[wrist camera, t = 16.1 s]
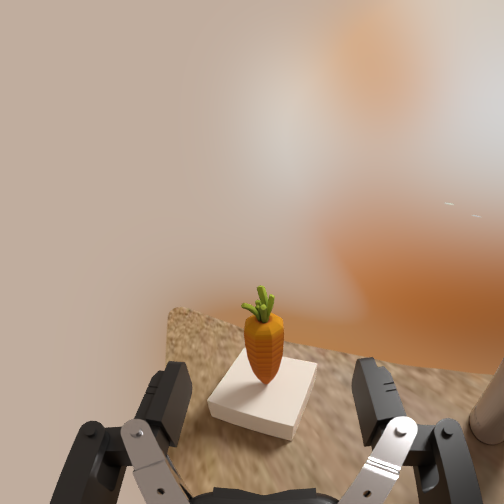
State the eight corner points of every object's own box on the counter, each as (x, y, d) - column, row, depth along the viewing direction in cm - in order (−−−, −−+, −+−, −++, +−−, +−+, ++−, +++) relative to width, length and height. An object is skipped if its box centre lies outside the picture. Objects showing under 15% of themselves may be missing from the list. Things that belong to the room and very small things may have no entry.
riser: (315, 380, 41) (317, 363, 39) (291, 440, 31) (293, 426, 29) (245, 364, 45) (244, 347, 44) (211, 416, 35) (206, 400, 34)
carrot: (276, 400, 33) (275, 307, 28) (242, 390, 35) (231, 298, 30) (289, 375, 37) (291, 284, 32) (257, 367, 39) (251, 278, 34)
